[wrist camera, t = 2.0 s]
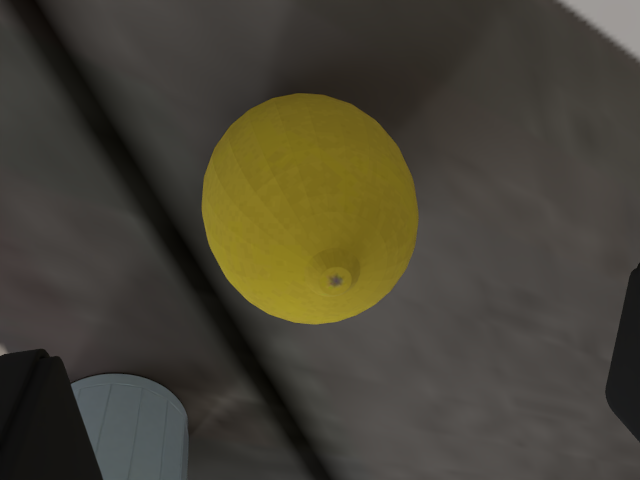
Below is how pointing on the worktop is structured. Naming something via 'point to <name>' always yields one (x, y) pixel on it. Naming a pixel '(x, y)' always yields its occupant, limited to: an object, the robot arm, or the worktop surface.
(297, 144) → the lemon
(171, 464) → the cup
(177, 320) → the worktop surface
